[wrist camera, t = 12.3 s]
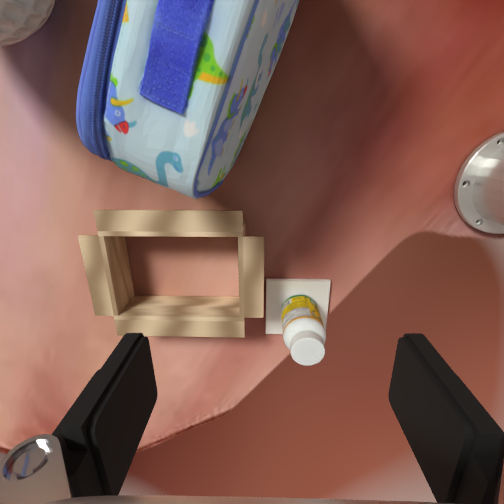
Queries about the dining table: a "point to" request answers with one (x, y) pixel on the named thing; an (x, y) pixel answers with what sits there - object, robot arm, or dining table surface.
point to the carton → (171, 307)
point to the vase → (22, 18)
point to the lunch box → (178, 84)
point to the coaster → (285, 287)
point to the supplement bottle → (303, 329)
